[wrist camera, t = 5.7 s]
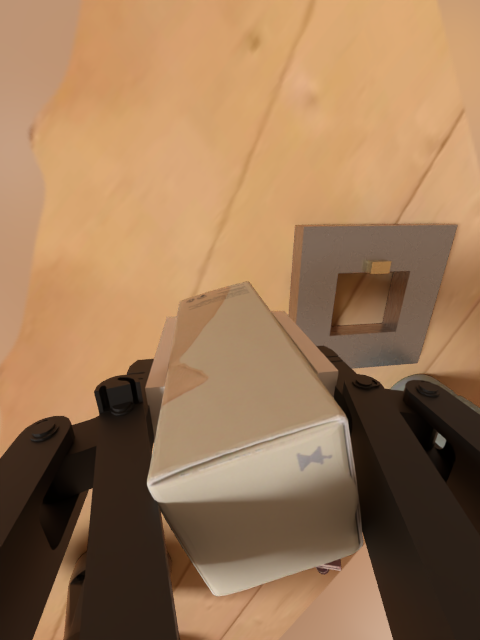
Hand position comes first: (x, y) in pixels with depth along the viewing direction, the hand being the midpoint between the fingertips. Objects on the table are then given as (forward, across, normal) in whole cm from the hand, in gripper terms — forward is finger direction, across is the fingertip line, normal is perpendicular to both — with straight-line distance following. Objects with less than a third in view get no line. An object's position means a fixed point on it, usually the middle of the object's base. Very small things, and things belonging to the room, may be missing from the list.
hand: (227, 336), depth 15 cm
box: (+1, 0, 0) cm, 1 cm away
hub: (+14, +16, -2) cm, 21 cm away
